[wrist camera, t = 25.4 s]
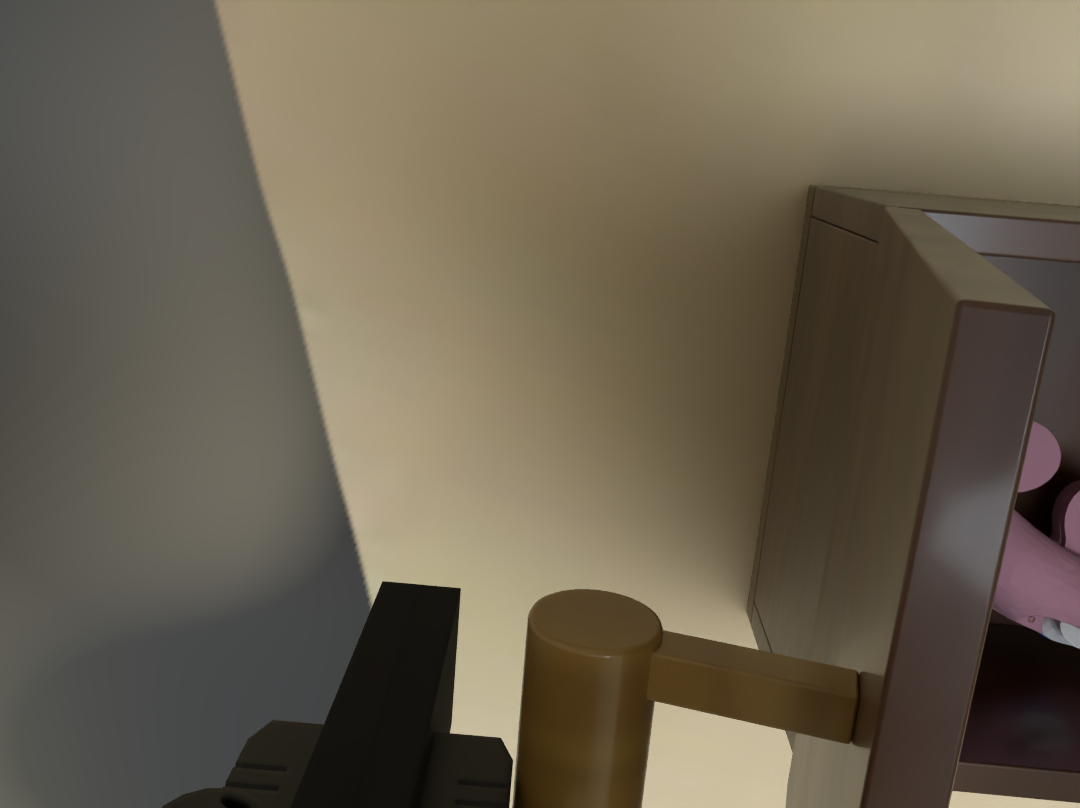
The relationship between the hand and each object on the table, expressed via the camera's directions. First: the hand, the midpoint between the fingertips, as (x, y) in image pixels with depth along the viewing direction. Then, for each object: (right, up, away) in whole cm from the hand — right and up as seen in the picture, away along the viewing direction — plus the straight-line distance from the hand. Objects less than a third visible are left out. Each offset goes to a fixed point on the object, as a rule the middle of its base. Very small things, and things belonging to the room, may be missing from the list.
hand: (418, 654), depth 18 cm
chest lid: (+8, 0, +1) cm, 8 cm away
